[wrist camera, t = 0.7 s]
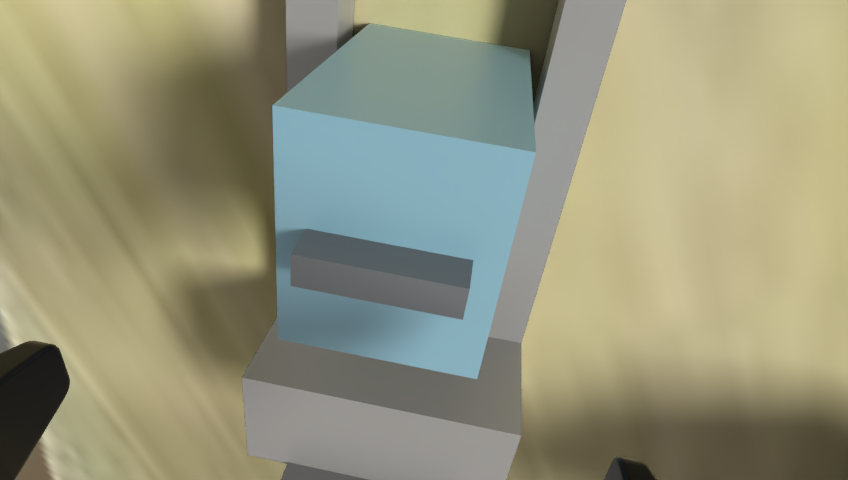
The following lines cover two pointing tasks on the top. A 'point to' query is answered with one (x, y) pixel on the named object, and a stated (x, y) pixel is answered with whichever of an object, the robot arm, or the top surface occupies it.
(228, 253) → the top surface
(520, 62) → the light blue block
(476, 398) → the dock
